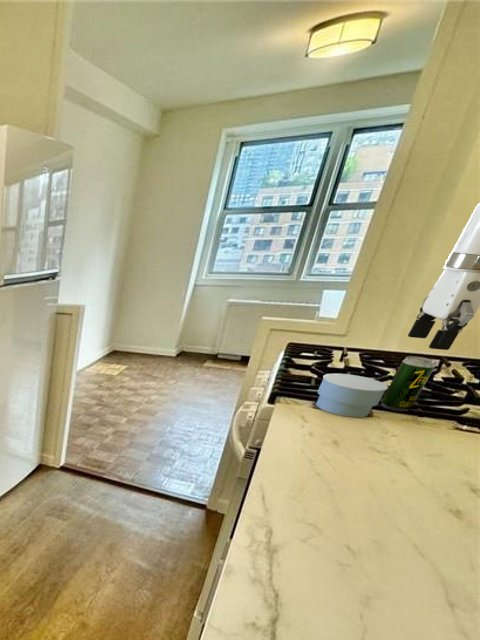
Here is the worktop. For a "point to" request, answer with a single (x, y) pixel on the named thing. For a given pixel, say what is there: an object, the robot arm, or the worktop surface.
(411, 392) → the beer can
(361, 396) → the yogurt tub
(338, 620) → the worktop surface
